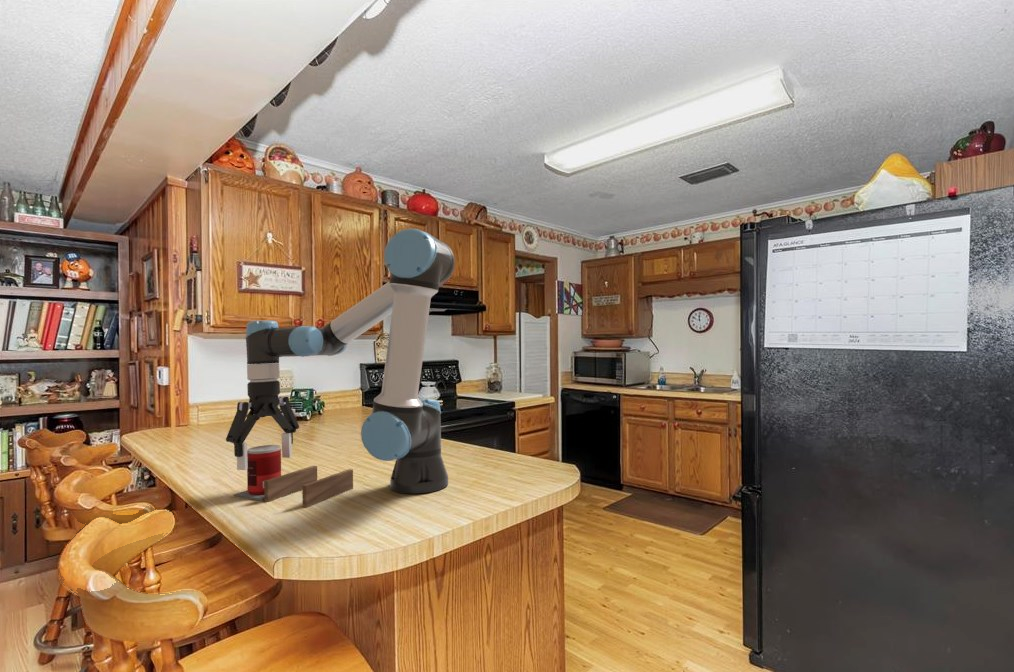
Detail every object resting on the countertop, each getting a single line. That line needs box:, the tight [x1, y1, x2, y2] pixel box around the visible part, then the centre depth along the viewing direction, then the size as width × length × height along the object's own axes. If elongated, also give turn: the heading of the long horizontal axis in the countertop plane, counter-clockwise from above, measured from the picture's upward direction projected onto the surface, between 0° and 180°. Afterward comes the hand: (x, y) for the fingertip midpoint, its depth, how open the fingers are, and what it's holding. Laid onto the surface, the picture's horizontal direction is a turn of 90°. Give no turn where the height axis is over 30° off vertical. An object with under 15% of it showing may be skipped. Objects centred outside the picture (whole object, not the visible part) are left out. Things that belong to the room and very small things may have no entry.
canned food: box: [246, 444, 282, 495], centre depth 126 cm, size 8×8×11 cm
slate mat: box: [232, 489, 265, 502], centre depth 126 cm, size 10×10×1 cm
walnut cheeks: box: [264, 465, 354, 508], centre depth 124 cm, size 13×16×5 cm
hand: (265, 463), depth 126 cm, fingers open, 13 cm apart
